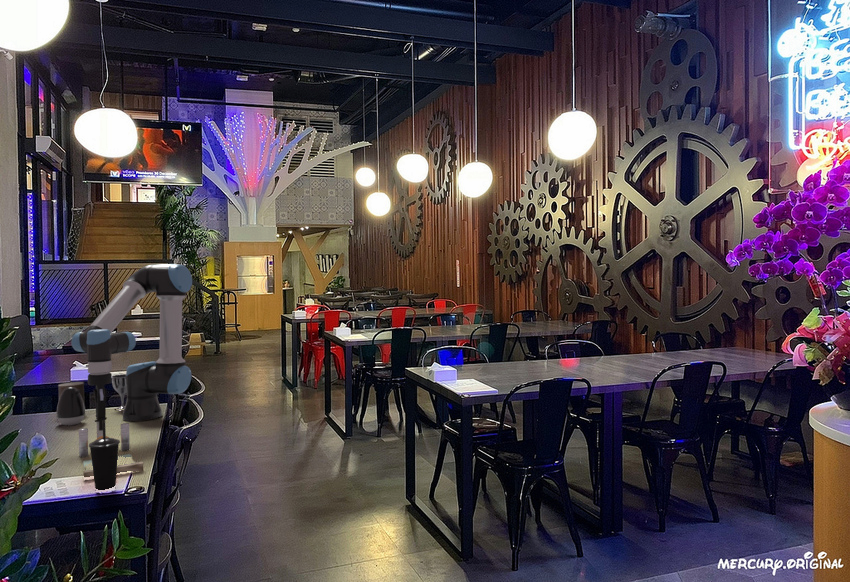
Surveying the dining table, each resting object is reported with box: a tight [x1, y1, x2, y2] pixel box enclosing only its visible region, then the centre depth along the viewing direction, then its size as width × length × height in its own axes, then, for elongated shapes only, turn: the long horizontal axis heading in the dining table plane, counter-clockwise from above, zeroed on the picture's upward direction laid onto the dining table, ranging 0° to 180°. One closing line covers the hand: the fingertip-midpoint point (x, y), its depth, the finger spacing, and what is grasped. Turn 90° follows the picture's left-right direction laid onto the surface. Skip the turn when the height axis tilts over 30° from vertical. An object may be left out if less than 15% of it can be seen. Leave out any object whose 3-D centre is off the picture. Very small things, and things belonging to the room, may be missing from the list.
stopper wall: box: [82, 461, 144, 477], centre depth 185 cm, size 16×2×2 cm, turn 122°
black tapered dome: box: [56, 387, 86, 426], centre depth 250 cm, size 10×10×15 cm
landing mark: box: [82, 453, 132, 467], centre depth 197 cm, size 14×14×1 cm
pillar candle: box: [57, 380, 86, 408], centre depth 266 cm, size 10×10×15 cm
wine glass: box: [111, 373, 127, 409], centre depth 278 cm, size 8×8×15 cm
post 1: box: [78, 427, 89, 458], centre depth 205 cm, size 3×3×9 cm
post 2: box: [120, 422, 131, 452], centre depth 212 cm, size 3×3×9 cm
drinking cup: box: [88, 420, 121, 490], centre depth 171 cm, size 8×8×20 cm
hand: (101, 438), depth 220 cm, fingers closed
